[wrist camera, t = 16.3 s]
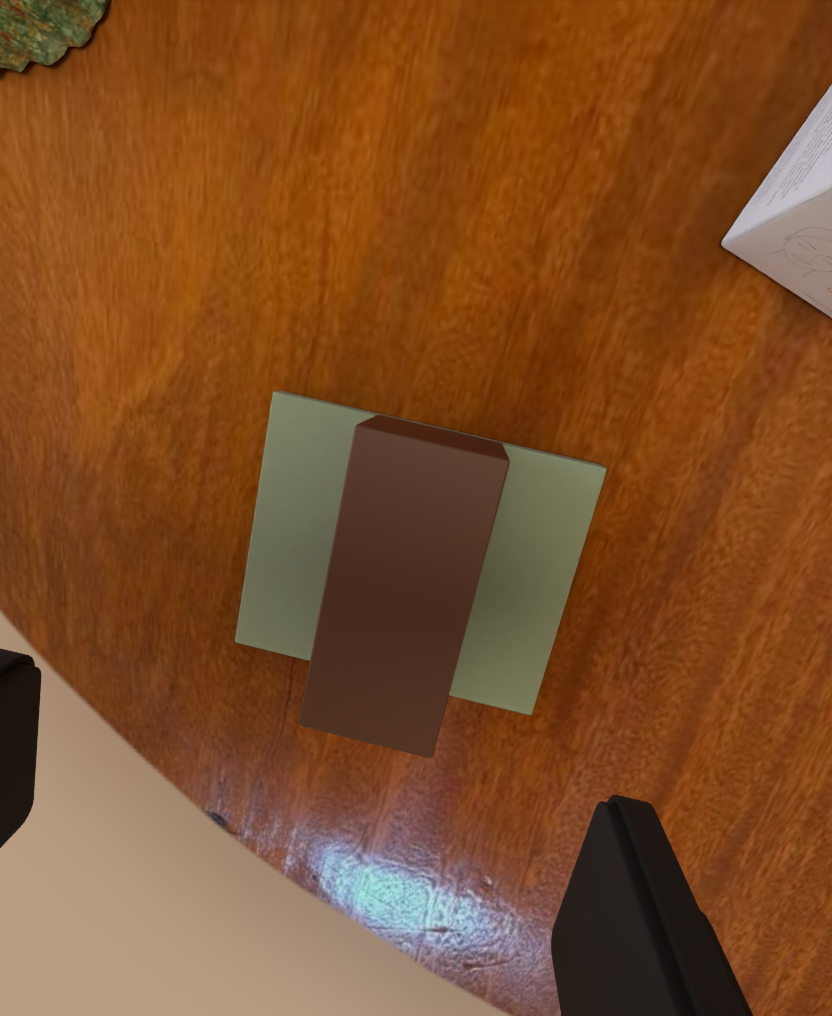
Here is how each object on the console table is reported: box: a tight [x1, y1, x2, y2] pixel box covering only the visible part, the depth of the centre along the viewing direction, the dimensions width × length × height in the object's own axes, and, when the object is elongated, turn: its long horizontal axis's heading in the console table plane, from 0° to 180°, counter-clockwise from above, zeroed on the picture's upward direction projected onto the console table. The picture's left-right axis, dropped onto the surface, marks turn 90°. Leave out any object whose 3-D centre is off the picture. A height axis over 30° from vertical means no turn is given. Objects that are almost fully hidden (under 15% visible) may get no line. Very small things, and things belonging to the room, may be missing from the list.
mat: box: [235, 391, 607, 715], centre depth 21 cm, size 12×10×1 cm
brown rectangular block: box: [298, 415, 510, 758], centre depth 19 cm, size 4×10×4 cm, turn 168°
